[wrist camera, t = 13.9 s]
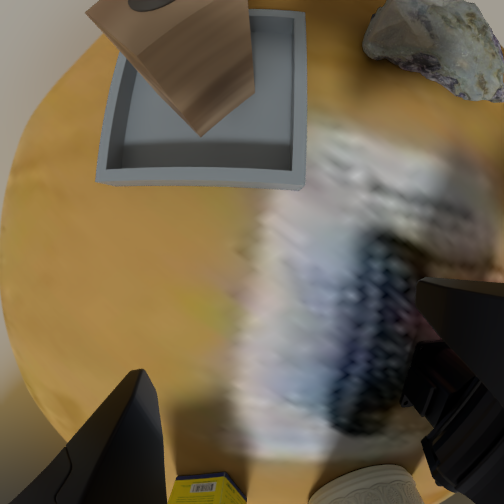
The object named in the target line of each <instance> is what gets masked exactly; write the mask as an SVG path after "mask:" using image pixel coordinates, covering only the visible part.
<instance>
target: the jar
mask: <svg viewBox="0 0 504 504" xmlns="http://www.w3.org/2000/svg"><path fill="white" fill-rule="evenodd" d="M308 504H424V502H423V500H422V498H421V496H420V494H419V492H418V490H417V488H416V483H415V481H414V480H413V477H412V476H411V474H409V473H408V472H407V471H406V470H405V469H404V468H403V467H401V466H398V465H377V466H371V467H367V468H363V469H360V470H356V471H353V472H351V473H348V474H346V475H343V476H341V477H339V478H337V479H335V480H333V481H331V482H329V483H328V484H326V485H324V486H323V487H322V488H320V489H319V490H318V491H317V492H315V493H314V494H313V496H312V497H311V498H310V500H309V502H308Z"/></svg>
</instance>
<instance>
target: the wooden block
mask: <svg viewBox="0 0 504 504" xmlns="http://www.w3.org/2000/svg"><path fill="white" fill-rule="evenodd" d="M85 13H86V15H87V16H89V18H90V19H91V20H92V21H93V22H94V23H95V24H96V25H97V26H98V28H99V29H101V31H102V32H103V33H104V34H105V35H106V36H107V37H108V38H109V40H110V41H111V42H112V43H113V44H114V45H115V46H116V47H117V48H118V50H119V51H120V52H121V53H122V54H123V55H124V56H125V57H126V58H127V60H128V61H129V62H130V63H131V64H132V65H133V66H134V68H135V69H136V70H137V71H138V72H139V73H140V74H141V75H142V77H143V78H144V79H145V80H146V81H147V82H148V84H149V85H150V86H151V87H152V88H153V89H154V90H155V92H156V93H157V94H158V95H159V96H160V97H161V98H162V99H163V100H164V101H165V102H166V103H167V104H168V105H169V106H170V107H171V108H172V109H173V110H174V111H175V112H176V113H177V114H178V115H179V116H180V117H181V118H182V119H183V120H184V121H185V122H186V123H187V124H188V125H189V126H190V127H191V128H192V129H193V130H194V131H195V132H196V133H197V134H198V135H199V137H200V138H201V137H202V136H203V135H204V134H205V133H207V132H208V131H209V130H210V129H211V128H212V127H214V126H215V125H216V124H217V123H218V122H219V121H221V120H222V119H223V118H224V117H225V116H227V115H228V114H229V113H230V112H231V111H233V110H234V109H235V108H236V107H238V106H239V105H240V104H241V103H243V102H244V101H245V100H247V99H248V98H249V97H250V96H252V95H253V94H254V93H255V85H254V72H253V59H252V46H251V33H250V21H249V9H248V0H99V1H98V2H97V3H96V4H94V5H93V6H92V7H91V8H90V9H89V10H87V11H86V12H85Z"/></svg>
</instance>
